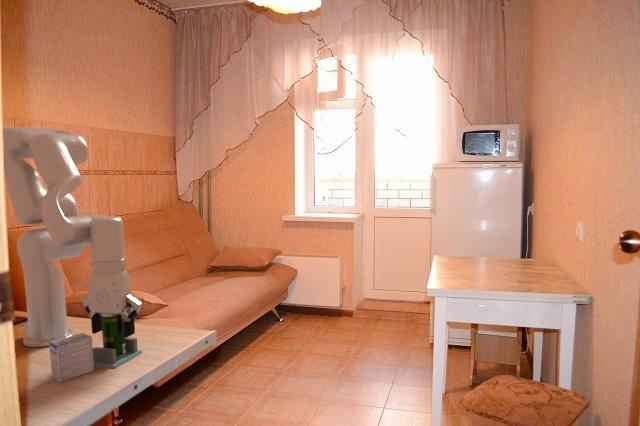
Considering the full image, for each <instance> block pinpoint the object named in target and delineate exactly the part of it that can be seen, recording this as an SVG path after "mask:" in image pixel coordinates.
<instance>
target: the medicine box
mask: <svg viewBox="0 0 640 426" xmlns="http://www.w3.org/2000/svg"><path fill="white" fill-rule="evenodd" d="M48 347H49V356H50V358H49V359H50V369H51V377H52V379H54V380H55V381H57V382H58V383H61V384H62V383H63V382H66V381H69V380H72V379H75V378H77V377H79V376H80V377H81V376H83V375H85V374H89V373H92V372H94V371H95V366H94V362H93V348H94V347H93V337H92V336H91V335H89V334H86V333H84V332H81V333H78V334H74V336H70V337H67V338H63V339H60V340H56V341H53V342H50V343H49V346H48Z"/></svg>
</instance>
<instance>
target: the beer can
mask: <svg viewBox="0 0 640 426" xmlns="http://www.w3.org/2000/svg"><path fill="white" fill-rule="evenodd" d="M100 315H101V323H102V331H101V335H102V346H103V347H102V348H111V349H116V359H120V358H122V357H124V356H125V355H126V353H127V345H126V337H124V327H123V322H124V321H125V319H124V318H123V316H122V315H121V314H117V315H114V314H103V313H100Z"/></svg>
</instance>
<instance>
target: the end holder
mask: <svg viewBox="0 0 640 426" xmlns="http://www.w3.org/2000/svg"><path fill="white" fill-rule="evenodd" d="M126 345H127V353H126V355H125V356H124V357H122V358H120V359H116V349H111V348H103V347H100V346H99V347H98V346H95V347H92V348H93V362H94V367H101V368H111V369H116V368H118V367H120V366H122V365H123V364H126V363H127V362H129V361H131V360H133V359H134V358H135V357H138V356H140V354H142V353H143V350H141V349H138V339H137V337H130V336H129V337H126Z"/></svg>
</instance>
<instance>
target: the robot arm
mask: <svg viewBox="0 0 640 426" xmlns="http://www.w3.org/2000/svg"><path fill="white" fill-rule="evenodd" d="M2 129H3V138H4V171H5V178H4V181H5V183H6V187H7V191H8V194H9V199H10V201H11V206H12V210H13V212H14V216H15V218H16V220H17V221H18V223H19V224H21V225H22V226H27V227H28V226H31V227H32V226H42V225H44V227H43V228H36V229H32V230H31V229H30V230H28V231H26V232H24V233H22V234H21V235H20V236H19V238H18V239H17V242H16V248H17V254H18V256H19V260H20V263H21V268H22V273H23V280H24V288H25V300H26V301H25V302H26V311H27V312H26V313H27V322H26V323H25V324H24V326H22V327H21V328H20V331H21V332H25V333H26V336H25V337H24V338H23V340H22V342H23V345H24V346H26V347H30V348H42V347H50V346H49V343H50V342H53V341H56V340H60V339H63V338H67V337H70V336H74V335H75V332H74V330H73V329H71V328H68V318H67V317H68V316H67V307H66V293H65V279H64V276H63V273H62V271H61V270H60V269H59V268H58V267H57V266H56V265H55V263H54V262H57V261H61V260H66V259H67V260H68V259H72V258H76V257H79V256H81V255H82V254H84V253H85V251H86V247H87V245H90V249H91V261H90V264H89V265H90V266H91V267H92V271H91V272H90V274H89V277H88V279H89V280H88V288H87V295H88V296H85V297H84V298H82V299H81V303H82V304H83V306H84V309H85V311H86V313H87V314H88V318H90V321H91V333H92V334H93V335H95V334H97V333H99V332H102V323H101V314H102V313H103V314H114V315H117V314H121V315H122V316H123V318H124V319H125V321H124V322H123V327H124V337H130V336H132V335H134V334H135V333H136V329H135V325H136V324H135V319H137V316H138V315H139V314H140V312H141V309H142V307H143V303H142V301H140V300H138V299H137V298H136V297H133V291H132V285H131V280H130V279H131V278H130V276H129V272H128V271H127V267H126V253H125V251H126V249H125V234H124V221H123V219H122V218H121V217H120V216H115V215H112V216H111V215H106V214H101V213H94V214H93V213H92V214H82V215H81V214H80V213H79V208H78V205H77V202H76V200H75V198H74V196H72V194H71V193H73V192H75V191H76V190H77V189H79V187H81V185H82V183H83V178H82V175H81V172H80V171H79V170H78V167H77V166H76V165H81V164H84V163H85V162H86V161H87V159H88V158H89V152H90V151H89V146H88V144H87V142H86V140H85V139H84V138H83V137H82V136H80V135H79V134H77V133H73V132H69V131H64V130H60V129H56V128H43V127H41V128H40V127H23V126H22V127H21V126H12V127H11V126H10V127H4V128H2ZM25 159H32V160H33V162H34V164H35V165H36V168H37V169H36V168H35V167H33V166H32V165H31V163H28V162H27V160H25ZM38 171H39V172H38ZM42 180H43V181H42ZM43 183H44V184H45V186H46V188H47V190H46V189H45V187H44V185H43Z"/></svg>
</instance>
